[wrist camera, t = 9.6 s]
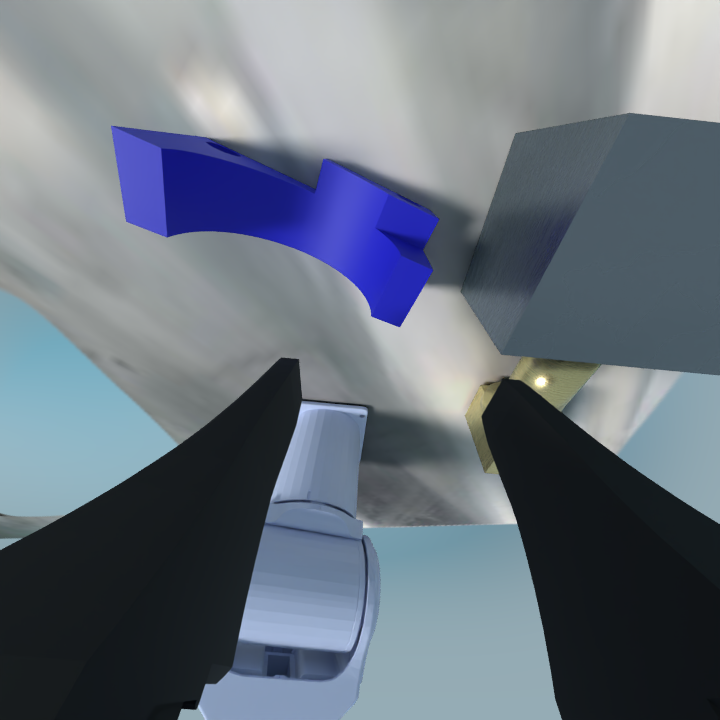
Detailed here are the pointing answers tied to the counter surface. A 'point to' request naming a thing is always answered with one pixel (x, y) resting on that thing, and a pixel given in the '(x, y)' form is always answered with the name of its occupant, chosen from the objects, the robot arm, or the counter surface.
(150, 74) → the counter surface
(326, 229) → the cable clip
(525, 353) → the block
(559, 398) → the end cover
